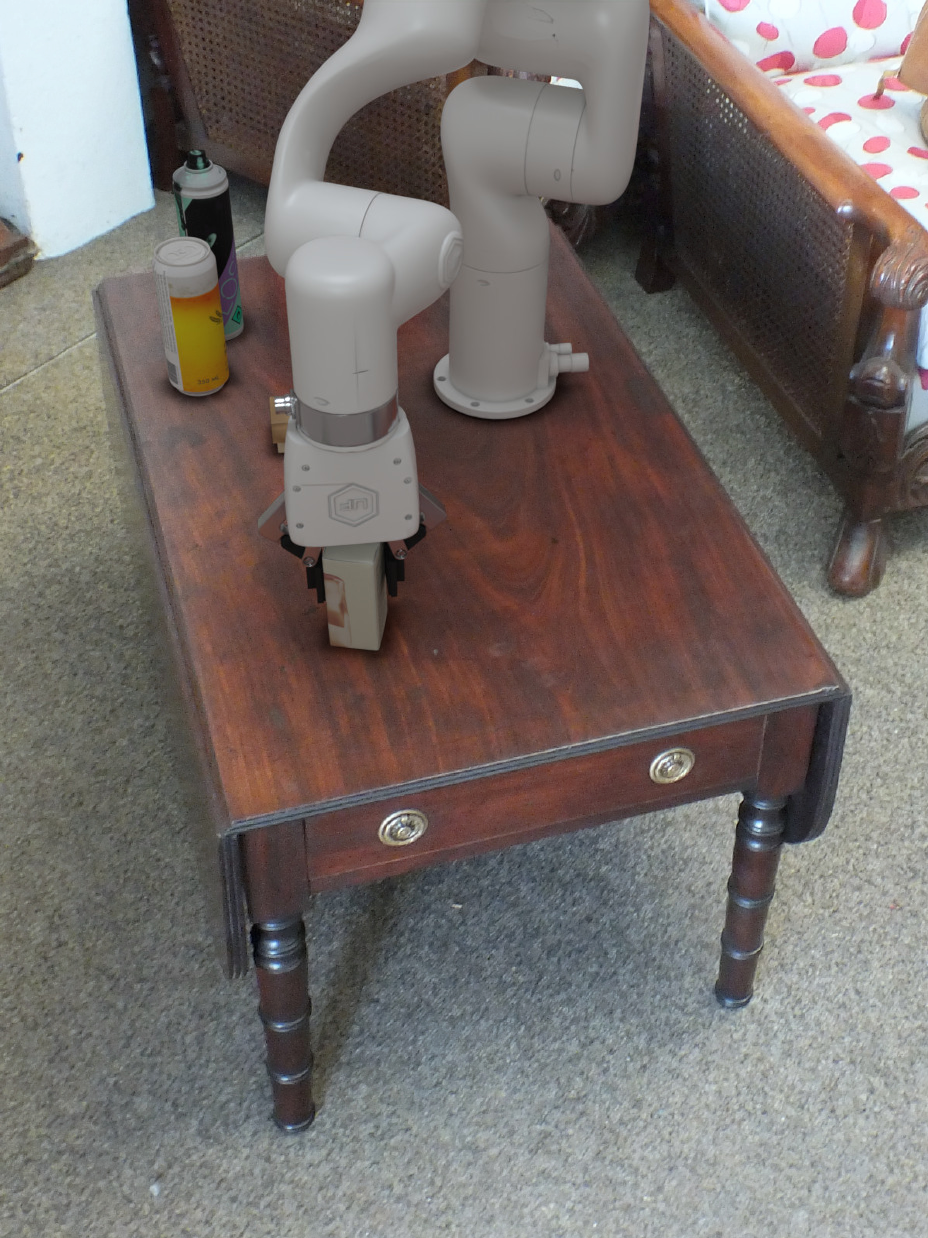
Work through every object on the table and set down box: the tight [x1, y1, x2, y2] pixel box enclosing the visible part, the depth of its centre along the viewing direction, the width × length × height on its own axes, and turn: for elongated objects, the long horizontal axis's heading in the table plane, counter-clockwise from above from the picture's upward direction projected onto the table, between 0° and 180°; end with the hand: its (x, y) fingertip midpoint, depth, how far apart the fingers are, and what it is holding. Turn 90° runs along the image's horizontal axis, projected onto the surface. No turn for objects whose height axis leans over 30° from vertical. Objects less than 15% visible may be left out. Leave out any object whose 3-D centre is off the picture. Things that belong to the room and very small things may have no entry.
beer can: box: [150, 236, 230, 397], centre depth 137 cm, size 6×6×15 cm
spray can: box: [172, 149, 245, 342], centre depth 142 cm, size 6×6×20 cm
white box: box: [322, 542, 388, 651], centre depth 113 cm, size 5×4×10 cm
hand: (356, 587), depth 113 cm, fingers closed on white box, 5 cm apart
